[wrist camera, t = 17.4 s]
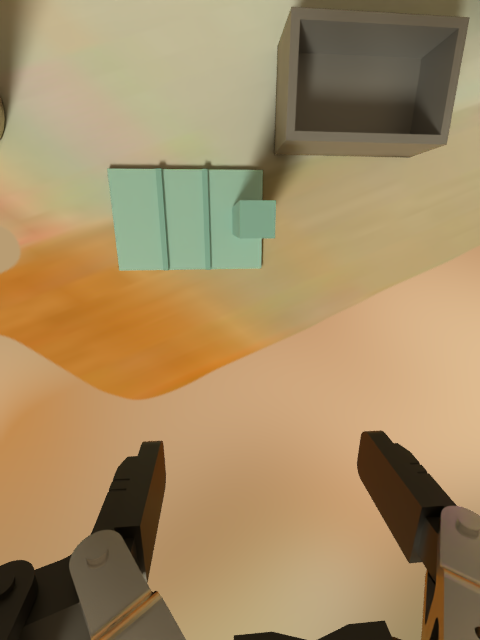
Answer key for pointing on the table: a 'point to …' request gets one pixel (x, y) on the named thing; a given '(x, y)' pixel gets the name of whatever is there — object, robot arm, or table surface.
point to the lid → (189, 218)
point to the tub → (366, 82)
